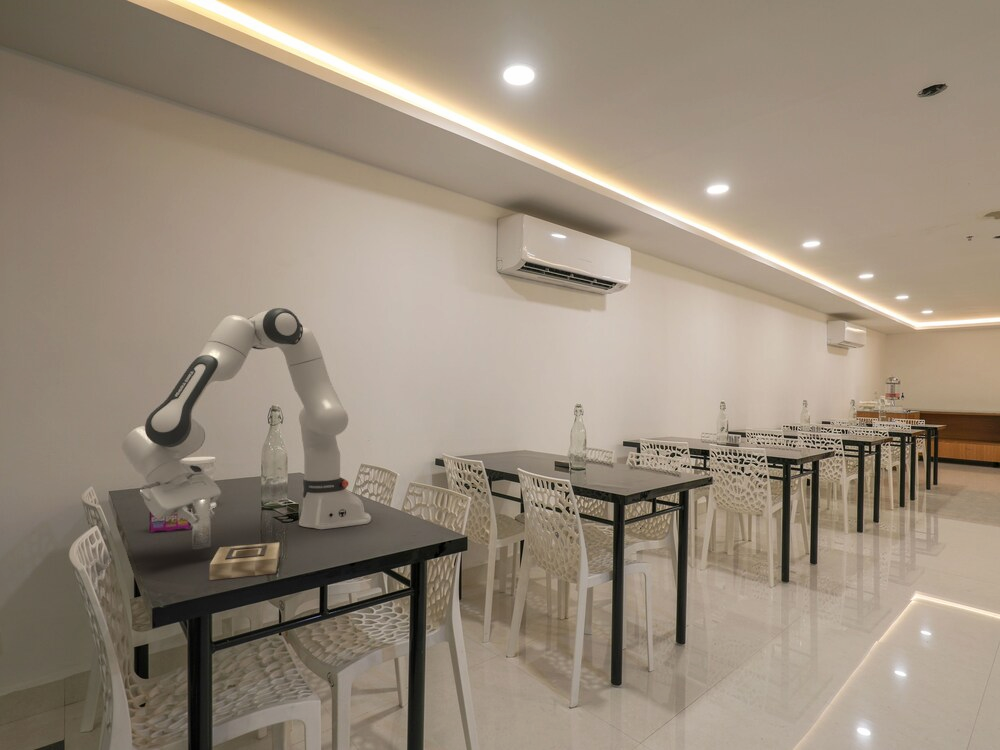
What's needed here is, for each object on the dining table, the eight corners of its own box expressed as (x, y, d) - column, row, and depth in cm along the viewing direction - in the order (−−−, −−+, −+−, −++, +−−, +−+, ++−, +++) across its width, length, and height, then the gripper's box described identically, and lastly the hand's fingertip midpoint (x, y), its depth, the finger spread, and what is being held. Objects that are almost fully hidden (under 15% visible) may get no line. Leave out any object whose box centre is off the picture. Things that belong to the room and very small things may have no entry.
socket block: (279, 555, 142) (279, 541, 143) (275, 573, 129) (276, 557, 129) (219, 561, 138) (219, 546, 138) (209, 580, 125) (209, 563, 125)
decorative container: (217, 509, 196) (217, 459, 196) (179, 513, 190) (180, 461, 190) (215, 503, 206) (216, 455, 206) (179, 507, 200) (180, 457, 200)
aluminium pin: (211, 543, 142) (211, 497, 142) (208, 547, 138) (208, 500, 138) (194, 545, 141) (194, 498, 141) (190, 549, 137) (190, 501, 137)
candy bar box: (193, 525, 173) (194, 473, 173) (190, 529, 168) (191, 476, 169) (152, 529, 169) (152, 475, 169) (148, 533, 164) (149, 478, 165)
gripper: (144, 478, 131) (179, 521, 129) (206, 465, 151) (237, 502, 149) (128, 496, 132) (163, 539, 130) (191, 481, 152) (223, 518, 150)
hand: (203, 519), depth 139 cm, fingers closed on aluminium pin, 4 cm apart
